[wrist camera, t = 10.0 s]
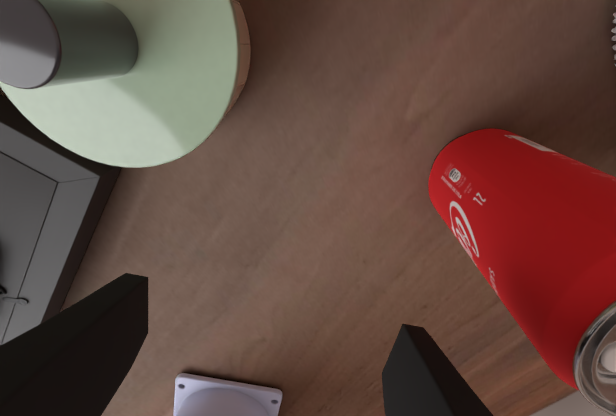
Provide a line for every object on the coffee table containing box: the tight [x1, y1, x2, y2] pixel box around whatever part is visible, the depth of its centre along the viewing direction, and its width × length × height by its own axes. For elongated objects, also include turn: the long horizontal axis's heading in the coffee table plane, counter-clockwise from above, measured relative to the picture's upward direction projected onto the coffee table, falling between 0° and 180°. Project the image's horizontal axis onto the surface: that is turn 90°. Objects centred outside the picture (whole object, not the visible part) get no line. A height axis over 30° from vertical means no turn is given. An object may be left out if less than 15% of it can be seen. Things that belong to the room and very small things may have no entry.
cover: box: [0, 0, 241, 168], centre depth 10 cm, size 9×9×5 cm
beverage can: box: [429, 129, 616, 416], centre depth 13 cm, size 5×5×12 cm
